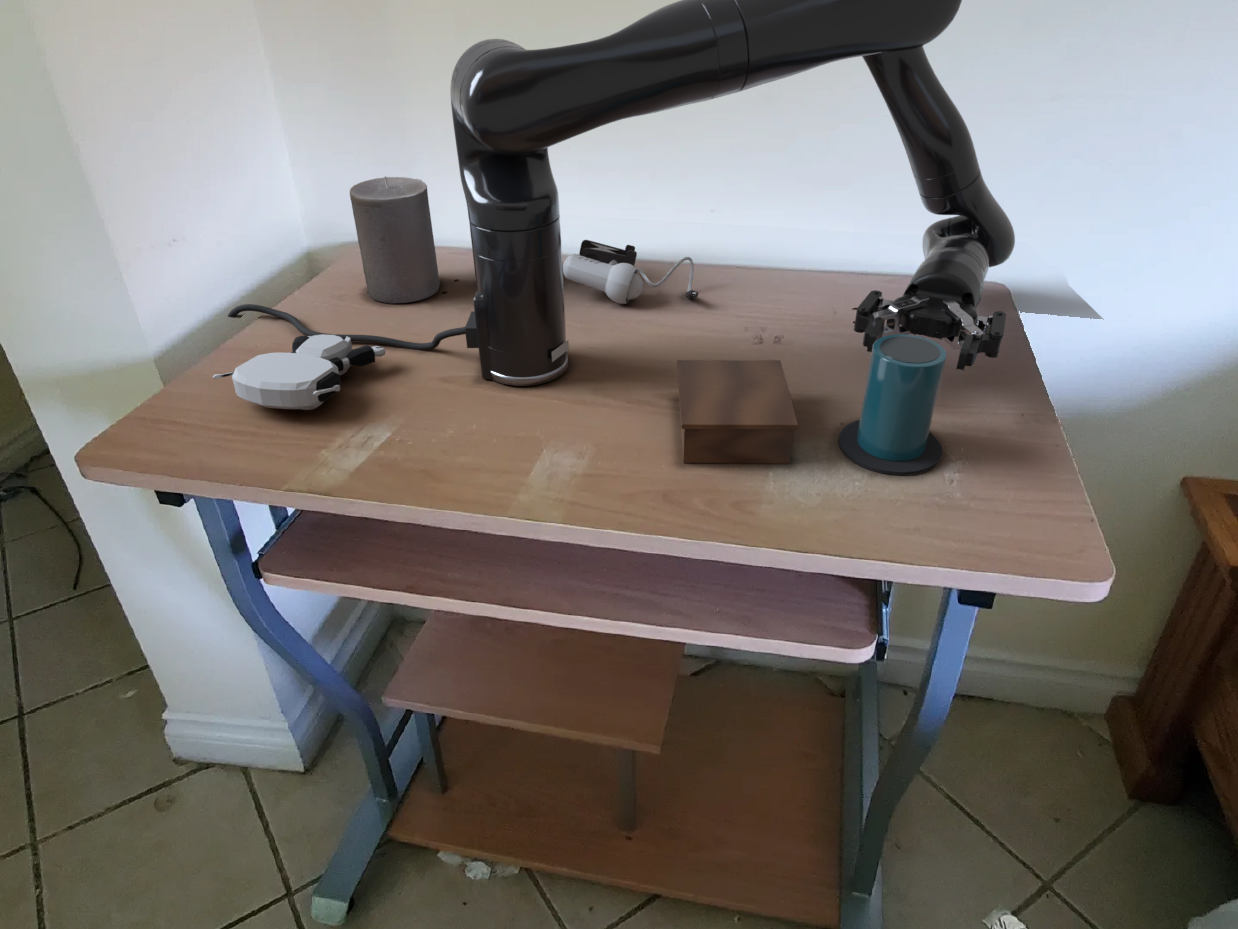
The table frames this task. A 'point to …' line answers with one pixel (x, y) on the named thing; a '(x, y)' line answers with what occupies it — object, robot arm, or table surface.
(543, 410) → the table surface
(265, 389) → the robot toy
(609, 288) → the clip-on lamp
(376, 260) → the pillar candle
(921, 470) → the coaster
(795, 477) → the table surface
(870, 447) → the tumbler
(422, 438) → the table surface
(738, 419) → the riser
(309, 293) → the table surface
